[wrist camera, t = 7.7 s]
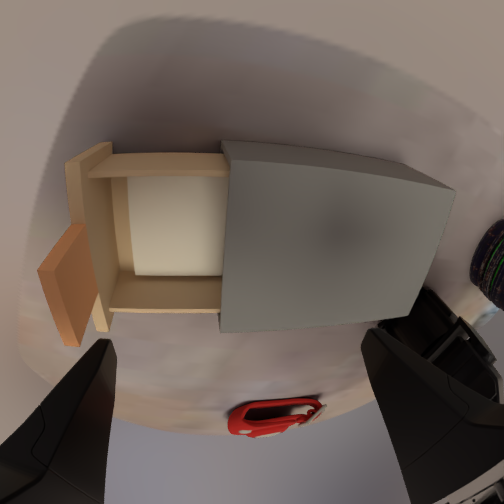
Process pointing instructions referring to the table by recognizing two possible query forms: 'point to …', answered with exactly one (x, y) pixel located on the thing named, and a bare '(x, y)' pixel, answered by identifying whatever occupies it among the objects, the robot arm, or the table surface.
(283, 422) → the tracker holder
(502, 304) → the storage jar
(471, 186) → the table surface
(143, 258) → the beige open box
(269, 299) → the sleeve
